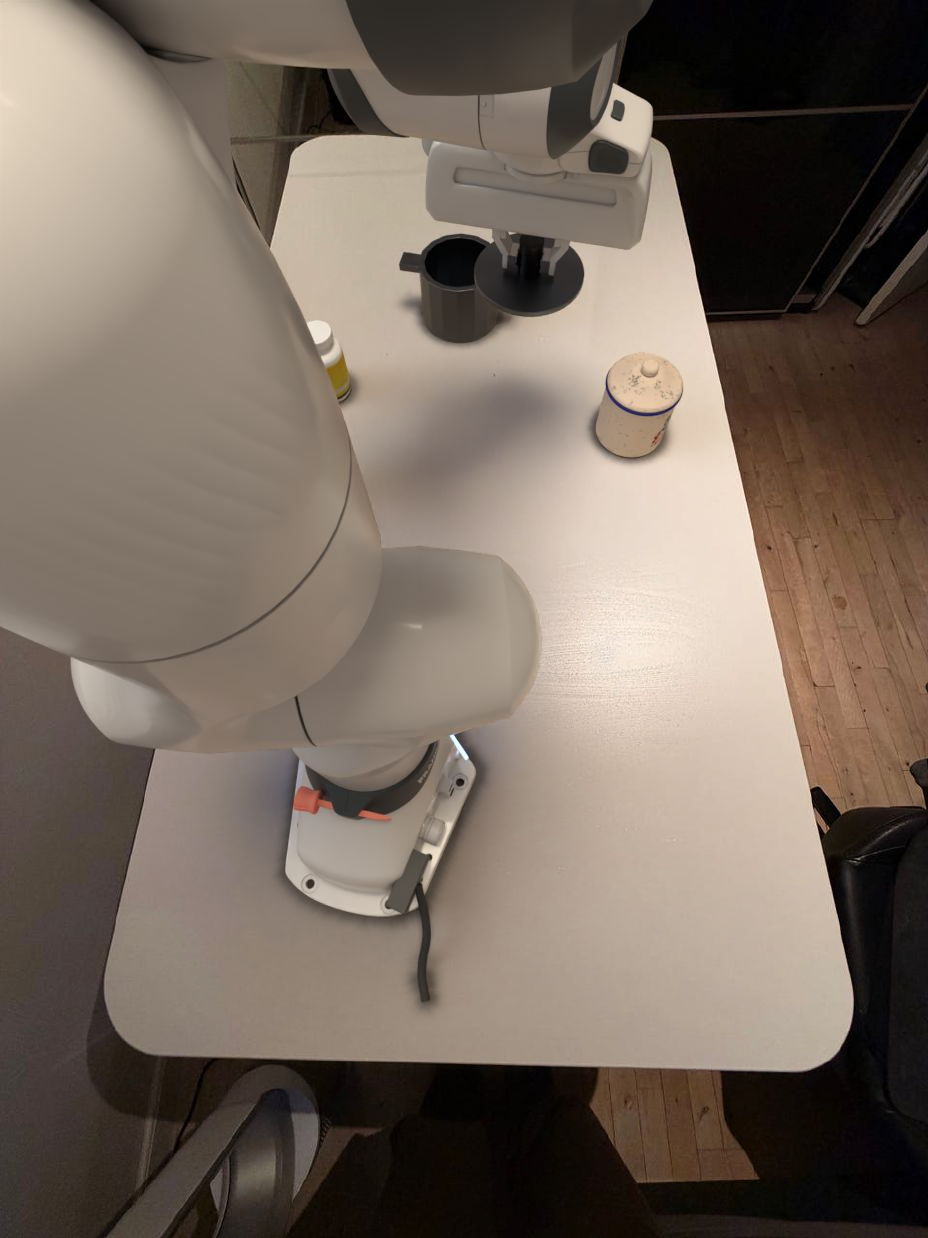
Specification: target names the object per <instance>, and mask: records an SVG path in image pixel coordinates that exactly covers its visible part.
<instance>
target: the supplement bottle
mask: <svg viewBox="0 0 928 1238" xmlns="http://www.w3.org/2000/svg"><path fill="white" fill-rule="evenodd" d="M306 323H307V325H308V328H309V330H310V332H311V335H312V337H313V339H314V342H315V344H316V346H317V349H318V351H319V353H320V356H321V358H322V360H323V363H324V365H325V367H326V370H327V372H328V374H329V377H330V379H331V382H332V385H333V388H334V391H335V393H336V396H337V399H338V402H339V403H340V402H343V401H344V400H345V399H347V397H348V396H349V395H350V393H351V391H352V383H351V378H350V374H349V370H348V365H347V362H346V357H345V354H344V351H343V347H342V344H341V342H340V341H339V339H338V338H337V337H336V336H334V333H333V331H332V328H331V326H330V324H329V323H328V322H326V321H324V320H320V319H318V320H317V319H313V320H309V321H306Z"/></svg>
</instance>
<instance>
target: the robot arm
mask: <svg viewBox="0 0 928 1238" xmlns="http://www.w3.org/2000/svg"><path fill="white" fill-rule="evenodd" d="M653 2H654V0H0V628H3V629H5V630H7V631H10V632H11V633H14V634H16V635H19V636H20V637H23V638H25V639H26V640H29V641H32V642H34V643H36V644H39V645H40V646H44V647H45V648H47V649H50V650H53V651H55V652H57V653H60V654H62V655H64V656H67V657H69V658H70V673H71V679H72V683H73V687H74V690H75V693H76V696H77V697H78V698H77V699H78V701H79V703H80V705H81V707H82V709H83V711H84V712H85V714H86V716H87V717H88V718H89V720H90V721H91V722H92V724H93V725H94V726H95V727H96V728H97V730H99V731H100V733H102V735H103V736H105V737H106V738H107V739H109V740H110V741H112V742H114V743H117V744H121V745H126V746H127V745H128V746H133V747H140V748H146V749H147V748H148V749H154V750H162V751H168V752H169V751H171V752H181V753H191V754H201V755H214V754H215V755H217V754H228V753H229V754H230V753H246V752H260V751H275V750H290V749H292V751H293V753H294V754H295V755H296V756H297V758H298V760H299V761H298V766H297V774H296V776H297V777H296V780H295V790H294V797H293V806H292V812H291V820H290V826H289V827H290V828H289V835H288V842H287V851H286V859H285V868H284V872H285V875H286V877H287V879H288V880H289V882H291V884H293V886H295V887H296V889H297V890H299V892H301V893H302V894H304V895H305V896H307V897H309V898H311V899H312V900H314V901H316V902H318V903H320V904H322V905H324V906H328V907H330V908H332V909H336V910H339V911H343V912H345V913H351V914H355V915H358V916H365V917H366V916H367V917H375V918H376V917H378V918H380V917H381V918H386V917H396V916H400V915H406V914H408V913H411V912H412V911H415V910H417V909H419V914H420V920H421V929H422V930H421V933H422V936H421V945H420V950H419V955H418V961H417V983H418V990H419V991H418V992H419V996H420V1000H421V1003H426V1002H429V1001H430V1000H431V999H430V993H429V988H428V981H427V964H428V963H427V962H428V957H429V951H430V946H431V938H432V930H431V929H432V928H431V918H430V913H429V908H428V903H427V900H426V894H427V892H428V889H429V887H430V885H431V882H432V880H433V878H434V875H435V873H436V871H437V869H438V866H439V864H440V862H441V860H442V857H443V855H444V852H445V849H446V847H447V846H448V843H449V841H450V839H451V837H452V835H453V832H454V829H455V827H456V825H457V823H458V820H459V817H460V816H461V813H462V812H463V808H464V806H465V803H466V800H467V798H468V795H469V793H470V792H471V791H470V790H471V789H472V787H473V784H474V782H475V779H476V776H477V769H476V766H475V765H474V762H473V761H472V760H471V759H470V758H469V756H468V754H467V753H466V751H465V749H464V748H463V746H462V745H461V743H460V742H459V741H458V740H457V738H456V736H455V735H457V734H460V733H464V732H467V731H470V730H473V729H477V728H481V727H483V726H488V725H491V724H494V723H498V722H501V721H505V720H508V719H510V718H512V716H513V715H514V714H515V713H516V712H517V711H518V710H519V708H520V707H521V706H522V704H523V703H524V701H525V700H526V698H527V697H528V696H529V694H530V692H531V690H532V688H533V685H534V683H535V681H536V678H537V675H538V672H539V669H540V666H541V665H540V664H541V660H542V652H543V632H542V624H541V618H540V614H539V611H538V608H537V605H536V602H535V600H534V597H533V596H532V594H531V592H530V590H529V588H528V586H527V585H526V583H525V582H524V580H523V579H522V577H521V576H520V575H519V574H518V572H517V571H516V570H514V569H513V567H512V566H511V565H510V564H509V563H508V562H507V561H506V560H504V559H503V558H502V557H501V556H499V555H496V554H489V553H482V552H474V551H470V550H469V551H468V550H461V549H452V548H442V547H434V546H433V547H432V546H424V545H412V546H396V547H395V546H394V547H383V545H382V538H381V533H380V528H379V525H378V522H377V519H376V515H375V512H374V508H373V506H372V502H371V499H370V496H369V493H368V490H367V487H366V484H365V483H366V482H365V480H364V477H363V473H362V470H361V467H360V464H359V461H358V458H357V454H356V452H355V448H354V445H353V443H352V439H351V435H350V433H349V430H348V427H347V423H346V420H345V417H344V414H343V413H344V412H343V411H342V408H341V404H340V402H338V399H337V396H336V393H335V391H334V388H333V385H332V382H331V379H330V377H329V374H328V372H327V370H326V367H325V365H324V363H323V360H322V358H321V356H320V353H319V351H318V349H317V346H316V344H315V342H314V339H313V337H312V335H311V332H310V330H309V328H308V325H307V321H306V319H305V316H304V314H303V312H302V309H301V308H300V307H301V306H299V303H298V302H297V299H296V298H295V295H294V293H293V291H292V289H291V287H290V286H289V283H288V281H287V279H286V276H285V275H284V273H283V271H282V269H281V267H280V265H279V263H278V261H277V259H276V256H275V255H274V253H273V251H272V250H271V248H270V246H269V244H268V243H267V241H266V238H265V237H264V236H263V234H262V232H261V230H260V228H259V226H258V225H257V223H256V221H255V219H254V218H253V216H252V214H251V212H250V211H249V208H248V207H247V205H246V203H245V202H244V200H243V198H242V195H241V194H240V192H239V191H238V187H237V186H238V185H237V181H236V175H235V167H234V160H233V152H232V142H231V133H230V123H229V109H228V107H229V105H228V91H227V88H228V86H227V61H231V62H232V61H233V62H240V63H248V64H260V65H273V66H274V65H275V66H288V67H300V68H314V69H326V70H327V75H328V78H329V81H330V83H331V86H332V89H333V91H334V93H335V95H336V97H337V99H338V101H339V103H340V105H341V106H342V107H343V109H344V110H345V112H346V114H347V115H348V116H349V118H350V119H351V120H352V122H353V123H354V125H355V126H356V127H357V128H358V129H359V130H360V131H361V132H362V133H364V134H366V135H370V136H379V137H391V138H402V139H404V138H405V139H406V138H407V139H408V138H414V139H420V140H421V146H422V149H423V152H424V153H425V155H426V156H427V163H426V170H425V171H426V173H425V187H424V190H425V192H424V194H425V198H424V199H425V202H424V203H425V209H426V211H427V213H428V214H429V215H430V217H431V218H432V219H433V220H434V221H437V222H442V223H447V224H448V223H449V224H454V225H462V226H469V227H475V228H482V229H488V230H491V238H492V240H493V242H495V243H496V245H497V247H498V249H499V250H500V252H501V254H503V259H502V268H507V269H513V270H517V266H518V256H519V244H518V243H513V241H512V239H511V237H510V233H512V234H515V233H519V234H526V235H533V236H539V237H546V238H552V239H555V243H554V246H553V248H544V250H543V255H542V257H541V261H540V270H539V273H540V274H545V275H551V276H554V272H555V268H556V263H557V261H558V260H559V259H560V258H561V257H562V256H563V255H564V253H565V252H566V251H567V250H568V248H569V245H570V244H571V243H572V242H573V243H579V244H585V245H592V246H593V245H594V246H598V247H606V248H610V249H611V248H612V249H617V250H622V251H623V250H624V251H629V250H632V249H633V248H635V246H637V245H638V244H639V243H640V242H641V240H642V238H643V237H642V236H643V231H644V227H645V223H646V219H647V213H648V206H649V200H650V194H651V186H652V177H653V155H652V151H651V148H650V143H651V138H652V133H653V123H654V110H653V109H654V108H653V106H652V105H651V104H650V103H649V102H648V101H647V100H646V99H644V98H642V97H640V96H638V95H636V94H635V93H633V92H630V91H629V90H627V89H625V88H623V87H621V86H620V85H618V84H617V83H614V82H615V77H616V71H617V64H618V59H619V53H620V47H621V42H622V41H621V40H622V39H623V38H624V36H626V35H627V34H628V33H629V32H630V31H631V30H632V29H633V28H634V27H635V26H636V25H637V24H638V23H639V22H640V21H641V20H642V19H643V18H644V17H645V16H646V15H647V13H648V11H649V9H650V8H651V6H652V3H653ZM458 780H462V781H463V784H462V785H461V786H460V785H458V784H457V781H458ZM430 855H431V856H430ZM311 880H312V881H313V882H314V885H313V886H312V887H311V888H310V887H309V886H308V883H309V881H311Z"/></svg>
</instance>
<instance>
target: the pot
mask: <svg viewBox="0 0 928 1238" xmlns="http://www.w3.org/2000/svg"><path fill="white" fill-rule="evenodd" d="M489 244H491V243H490V241H489V240H486V239H484V238H482V237H480V236H477V235H473V234H469V233H468V234H467V233H454V234H446V235H443V236H440V237H438V238H436V239H434V240H432V241H431V242H430V243H428V244H427V245H426V246H425V247H424V248H423V249H422V250H421V253H413V252H408V251H403V252H402V255H401V258H400V260H399V263H398V267H399V271H402V272H407V273H408V272H409V273H414V274H418V275H419V284H420V295H421V306H422V314H423V321H424V324H425V326H426V328H427V329H428V331H429V332H430V333H431V334H433V336H435V337H437V338H438V339H440V340H443V341H445V342H450V343H456V344H457V343H458V344H463V343H464V344H465V343H470V342H475V341H477V340H480V339H481V338H484V337H486V335H488V334H489V333H490V332H491V331H492V330H493V328H494V327H495V325H496V324H497V321H498V316H499V310H498V309H496V308H494V307H493V306H491V305H490V304H489V303H488V302H486V301H485V299H484V298H483V297H482V296H481V295H480V293H479V291H478V289H477V287H476V284H475V279H474V269H475V264H476V261H477V259H478V257H479V255H480V254H481V252H482V251H483V250H484V249H485V248H486V247H487V246H488V245H489Z"/></svg>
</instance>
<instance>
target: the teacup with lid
mask: <svg viewBox="0 0 928 1238" xmlns="http://www.w3.org/2000/svg"><path fill="white" fill-rule="evenodd" d="M604 385H605V389H604V393H603V395H602V400H601V403H600V407H599V411H598V415H597V418H596V422H595V433H596V436H597V439H598V441H599V442H600V444H601V445H602V446H603V447H604V448H605V449H606V450H608V451H609V452H610V453H612V454H614V455H617V456H620V457H624V458H639V457H643V456H647V455H648V454H650V453H651V452H653V451H654V450H656V449H657V447H658V446H659V445H660V443H661V441H662V439H663V437H664V434H665V432H666V429H667V427H668V424H669V422H670V420H671V418H672V416H673V413H674V411H675V408H676V406H677V405H678V404H679V403H680V401H681V399H682V397H683V394H684V381H683V377H682V374H681V373H680V370H678V368H677V367H676V366H675V364H673V363H672V362H671V361H670V360H668V359H666V358H664V357H663V356H660V355H657V354H654V353H650V352H643V351H639V352H636V353H631V354H628V355H626V356H623V357H622V358H620V359H618V360H617V361H616V362H615V363H614V364H613V365H612V366H611V367H610V369H608V372H607V374H606V377H605V384H604Z"/></svg>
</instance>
